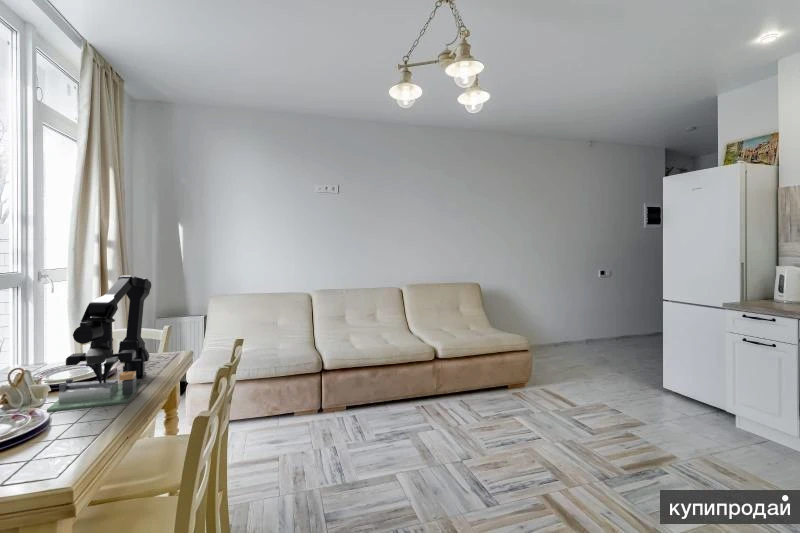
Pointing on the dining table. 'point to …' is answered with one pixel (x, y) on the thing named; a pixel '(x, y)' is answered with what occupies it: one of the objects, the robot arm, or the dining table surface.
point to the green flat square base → (94, 395)
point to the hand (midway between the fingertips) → (102, 381)
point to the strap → (91, 383)
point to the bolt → (127, 375)
